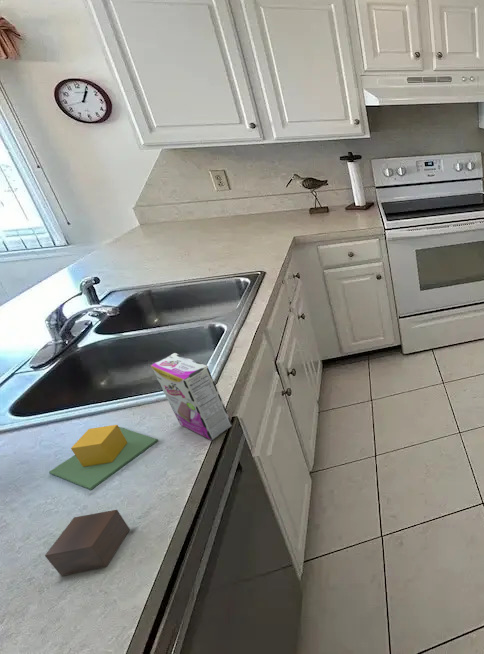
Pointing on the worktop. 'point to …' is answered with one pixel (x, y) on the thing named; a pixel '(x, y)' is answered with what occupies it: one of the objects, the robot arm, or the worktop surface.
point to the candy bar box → (192, 395)
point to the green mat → (100, 472)
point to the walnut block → (88, 542)
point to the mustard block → (99, 445)
